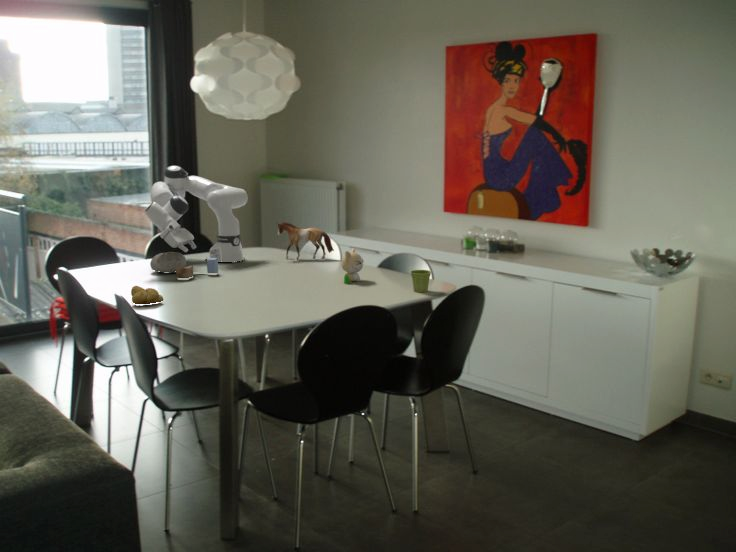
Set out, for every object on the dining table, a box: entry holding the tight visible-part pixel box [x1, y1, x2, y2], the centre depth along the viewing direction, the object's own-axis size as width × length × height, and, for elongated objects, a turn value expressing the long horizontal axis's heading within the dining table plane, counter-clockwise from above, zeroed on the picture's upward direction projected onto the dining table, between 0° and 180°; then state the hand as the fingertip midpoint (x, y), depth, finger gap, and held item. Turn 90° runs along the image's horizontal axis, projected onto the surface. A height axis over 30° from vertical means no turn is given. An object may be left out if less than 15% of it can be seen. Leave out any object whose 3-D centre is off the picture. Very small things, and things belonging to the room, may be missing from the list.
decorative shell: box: [149, 251, 187, 273], centre depth 405 cm, size 18×18×10 cm
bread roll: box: [130, 285, 164, 304], centre depth 332 cm, size 13×10×8 cm
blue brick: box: [206, 258, 219, 274], centre depth 396 cm, size 4×4×8 cm
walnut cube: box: [175, 265, 195, 278], centre depth 386 cm, size 6×6×6 cm
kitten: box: [341, 247, 365, 285], centre depth 375 cm, size 15×10×15 cm, turn 161°
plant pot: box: [409, 269, 432, 293], centre depth 352 cm, size 9×9×9 cm
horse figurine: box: [275, 222, 335, 260], centre depth 435 cm, size 31×8×21 cm, turn 85°
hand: (191, 249), depth 396 cm, fingers open, 8 cm apart
